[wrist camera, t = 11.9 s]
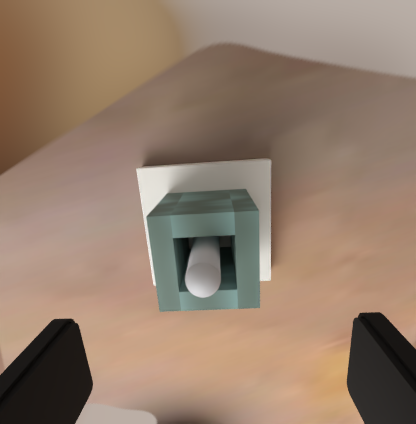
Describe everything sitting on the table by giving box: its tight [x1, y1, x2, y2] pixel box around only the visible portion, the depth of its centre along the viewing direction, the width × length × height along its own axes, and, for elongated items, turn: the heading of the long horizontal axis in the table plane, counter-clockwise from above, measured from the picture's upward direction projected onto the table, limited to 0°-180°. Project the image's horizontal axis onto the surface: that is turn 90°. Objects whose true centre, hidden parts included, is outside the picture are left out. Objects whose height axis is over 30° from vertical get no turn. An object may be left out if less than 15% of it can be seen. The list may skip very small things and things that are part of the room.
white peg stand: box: [137, 158, 271, 298], centre depth 16 cm, size 10×10×10 cm
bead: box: [146, 189, 260, 312], centre depth 17 cm, size 6×6×6 cm
